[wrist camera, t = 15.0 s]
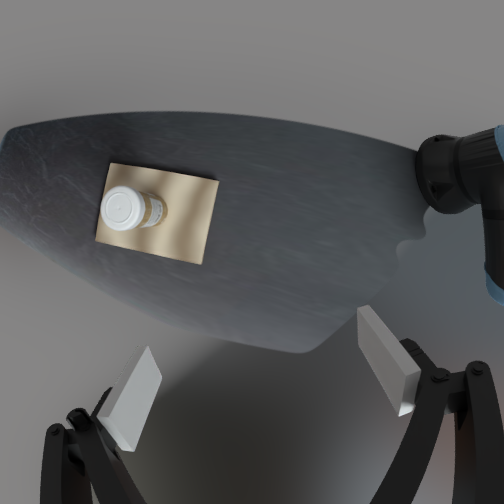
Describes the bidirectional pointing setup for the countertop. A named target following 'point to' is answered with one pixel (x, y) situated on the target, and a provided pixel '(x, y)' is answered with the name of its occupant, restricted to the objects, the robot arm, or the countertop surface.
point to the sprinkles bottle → (132, 209)
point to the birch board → (179, 213)
